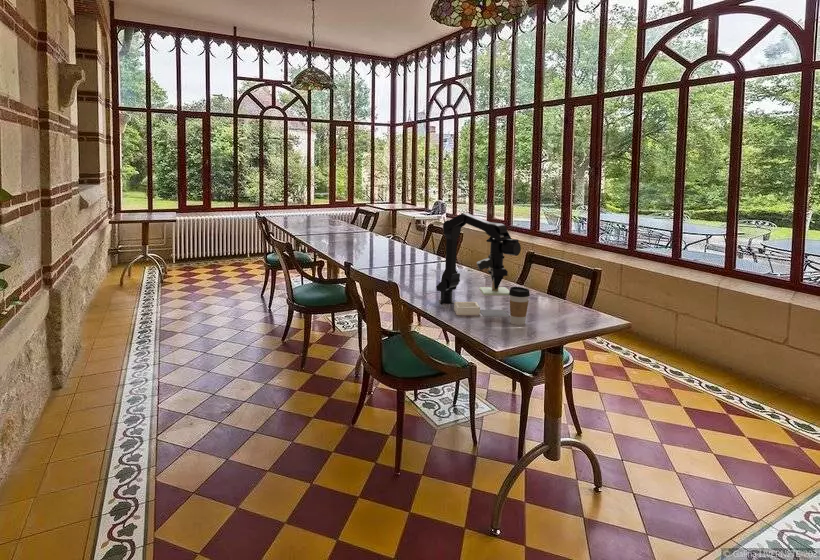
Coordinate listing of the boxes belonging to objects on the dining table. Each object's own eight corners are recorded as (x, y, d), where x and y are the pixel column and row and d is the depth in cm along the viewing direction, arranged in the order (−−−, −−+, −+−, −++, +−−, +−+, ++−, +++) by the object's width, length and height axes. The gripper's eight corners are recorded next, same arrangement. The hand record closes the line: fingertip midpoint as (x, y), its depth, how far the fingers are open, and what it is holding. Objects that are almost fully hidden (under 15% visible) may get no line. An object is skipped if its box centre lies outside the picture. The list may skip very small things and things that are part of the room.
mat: (478, 310, 242) (478, 309, 242) (504, 310, 243) (504, 309, 243) (482, 317, 231) (482, 316, 231) (510, 317, 231) (510, 316, 231)
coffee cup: (515, 319, 228) (516, 285, 225) (532, 323, 223) (534, 288, 219) (503, 323, 223) (505, 288, 220) (520, 327, 217) (522, 291, 214)
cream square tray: (454, 310, 242) (454, 301, 241) (475, 310, 242) (476, 301, 242) (457, 316, 232) (457, 307, 231) (479, 316, 233) (480, 307, 232)
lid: (479, 289, 240) (479, 277, 239) (505, 289, 241) (506, 277, 240) (484, 295, 229) (484, 283, 228) (511, 295, 229) (512, 283, 228)
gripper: (474, 249, 240) (473, 283, 243) (482, 256, 222) (480, 292, 225) (499, 249, 241) (497, 283, 244) (508, 256, 222) (506, 293, 225)
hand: (495, 288), depth 234 cm, fingers closed on lid, 3 cm apart
